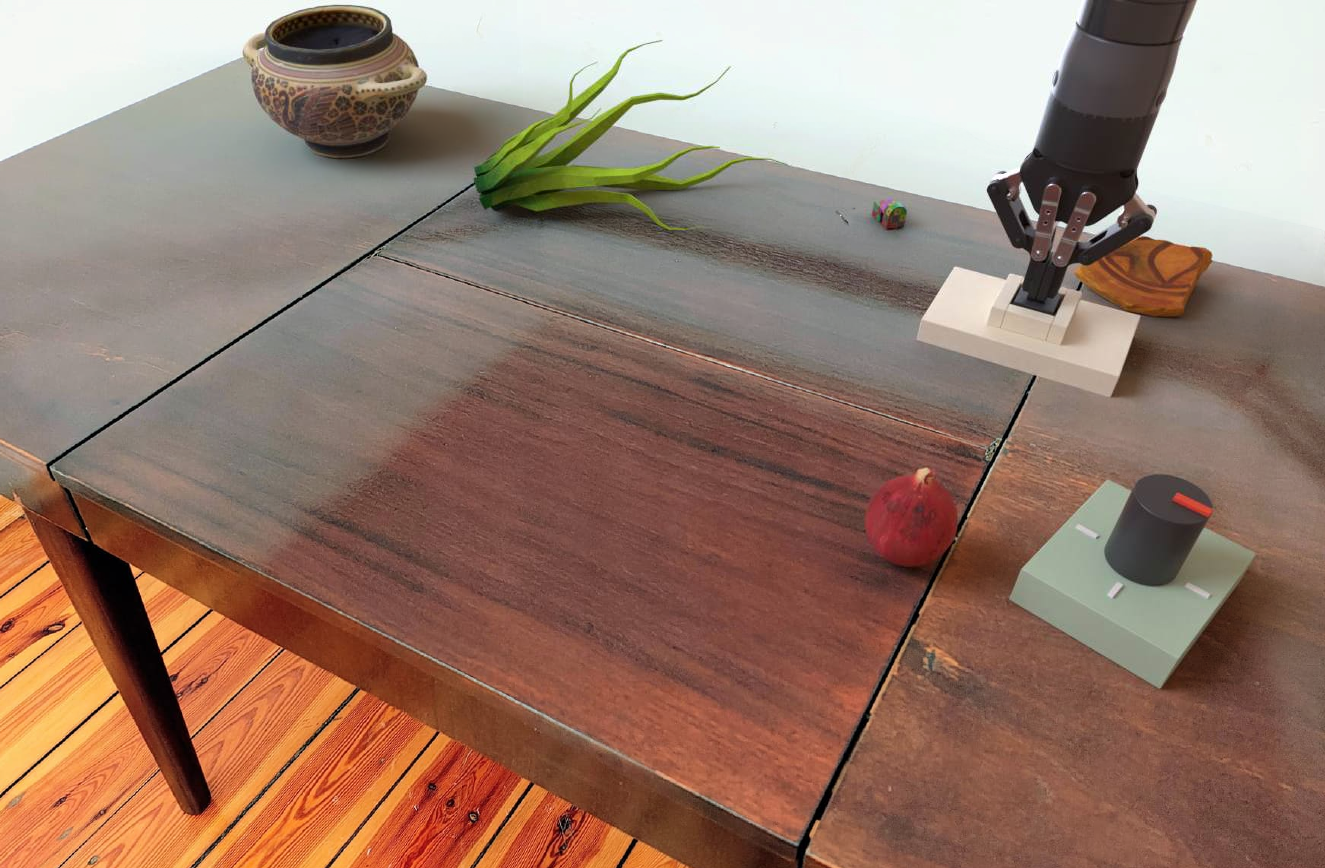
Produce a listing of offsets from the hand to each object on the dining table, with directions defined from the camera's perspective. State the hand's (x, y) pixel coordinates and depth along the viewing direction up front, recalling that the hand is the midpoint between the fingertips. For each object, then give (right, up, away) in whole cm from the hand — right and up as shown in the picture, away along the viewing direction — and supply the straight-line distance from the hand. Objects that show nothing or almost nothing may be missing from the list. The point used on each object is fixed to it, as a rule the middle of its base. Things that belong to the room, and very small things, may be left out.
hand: (1037, 296), depth 86 cm
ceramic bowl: (-65, +23, +32) cm, 76 cm away
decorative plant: (-34, +14, +22) cm, 43 cm away
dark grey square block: (0, -1, +1) cm, 2 cm away
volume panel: (-2, -23, -19) cm, 29 cm away
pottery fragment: (+13, +2, +9) cm, 16 cm away
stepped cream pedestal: (0, -3, +3) cm, 4 cm away
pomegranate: (-16, -21, -16) cm, 31 cm away
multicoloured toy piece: (-8, +11, +18) cm, 22 cm away
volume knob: (-2, -21, -21) cm, 29 cm away
